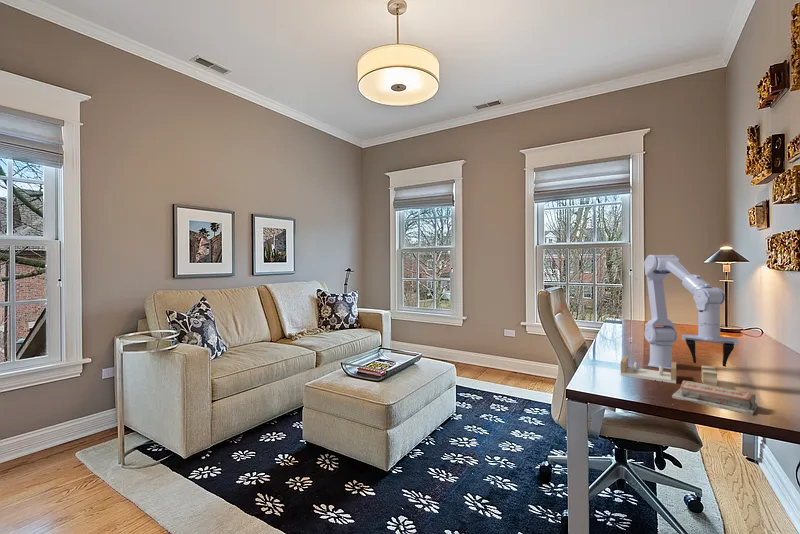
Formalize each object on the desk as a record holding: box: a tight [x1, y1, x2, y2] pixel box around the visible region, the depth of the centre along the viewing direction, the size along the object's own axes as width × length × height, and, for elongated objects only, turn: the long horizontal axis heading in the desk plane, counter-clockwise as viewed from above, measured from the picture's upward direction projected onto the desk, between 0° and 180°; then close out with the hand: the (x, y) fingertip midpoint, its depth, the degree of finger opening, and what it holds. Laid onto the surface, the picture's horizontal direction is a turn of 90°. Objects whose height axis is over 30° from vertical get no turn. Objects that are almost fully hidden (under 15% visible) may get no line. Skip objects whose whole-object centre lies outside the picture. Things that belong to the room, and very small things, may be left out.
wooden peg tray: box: [620, 355, 677, 384], centre depth 137 cm, size 11×16×5 cm
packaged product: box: [671, 380, 759, 416], centre depth 110 cm, size 18×5×10 cm
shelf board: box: [701, 365, 718, 387], centre depth 127 cm, size 11×4×5 cm, turn 144°
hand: (709, 364), depth 127 cm, fingers open, 7 cm apart
